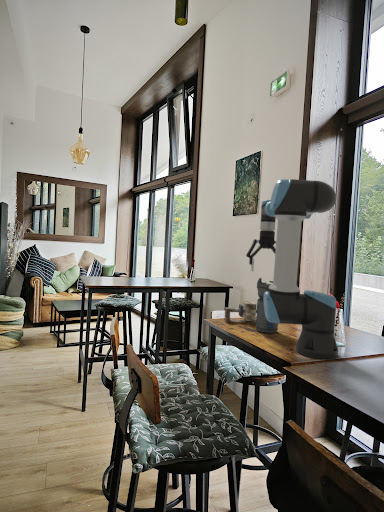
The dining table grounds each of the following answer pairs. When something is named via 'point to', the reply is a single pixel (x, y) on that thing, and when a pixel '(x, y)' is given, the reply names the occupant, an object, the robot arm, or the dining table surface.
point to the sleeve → (249, 311)
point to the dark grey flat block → (241, 310)
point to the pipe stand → (227, 319)
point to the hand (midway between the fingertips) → (265, 271)
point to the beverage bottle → (261, 320)
